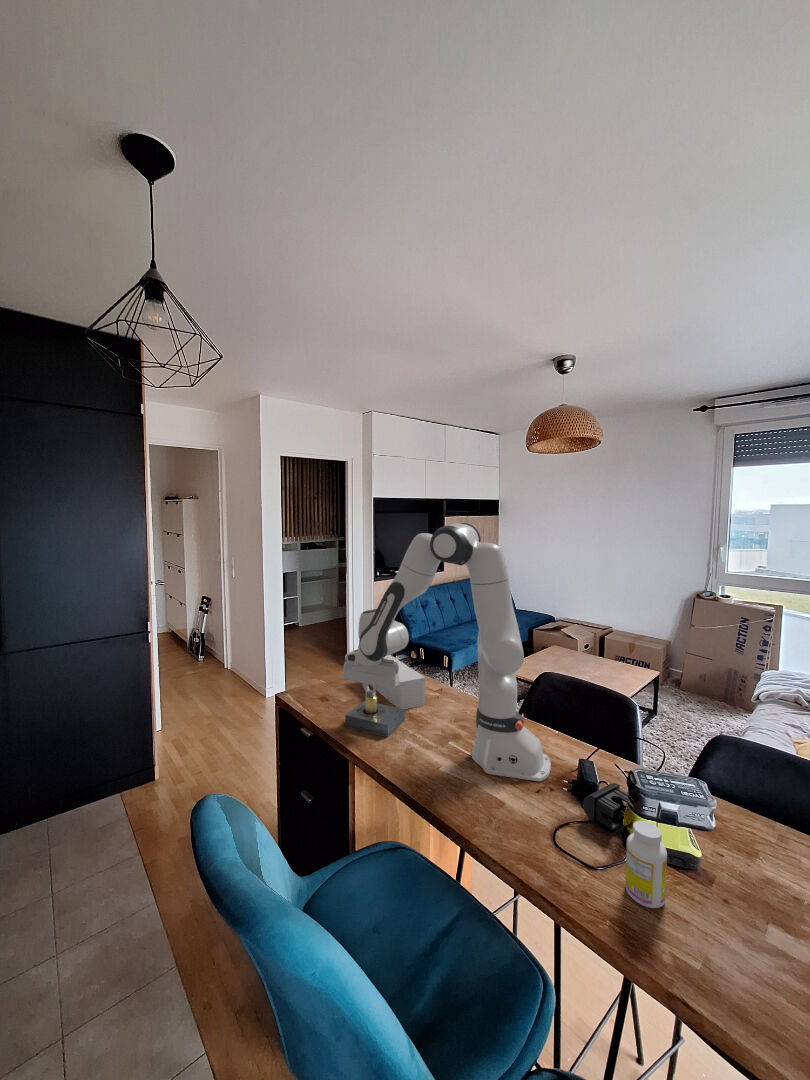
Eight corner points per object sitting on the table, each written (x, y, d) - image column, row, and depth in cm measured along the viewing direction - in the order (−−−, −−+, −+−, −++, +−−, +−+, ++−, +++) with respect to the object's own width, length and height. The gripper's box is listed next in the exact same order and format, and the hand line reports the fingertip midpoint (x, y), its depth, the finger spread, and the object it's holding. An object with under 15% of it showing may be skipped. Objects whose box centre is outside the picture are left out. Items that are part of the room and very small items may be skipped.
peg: (378, 718, 150) (379, 696, 150) (372, 723, 147) (373, 699, 147) (368, 716, 152) (369, 693, 152) (362, 720, 149) (363, 697, 149)
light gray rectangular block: (424, 705, 165) (425, 677, 164) (399, 710, 160) (400, 682, 159) (388, 677, 193) (388, 653, 193) (365, 681, 188) (366, 656, 188)
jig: (404, 720, 152) (404, 709, 151) (387, 737, 140) (388, 725, 140) (364, 711, 158) (364, 700, 158) (345, 726, 146) (345, 715, 146)
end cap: (606, 804, 109) (608, 778, 108) (634, 821, 103) (636, 793, 102) (581, 818, 103) (582, 790, 103) (609, 837, 97) (611, 808, 97)
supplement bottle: (651, 880, 86) (654, 816, 85) (673, 910, 79) (676, 841, 78) (618, 880, 85) (620, 817, 85) (637, 910, 79) (640, 842, 78)
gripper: (402, 658, 147) (401, 698, 148) (350, 649, 156) (350, 687, 156) (394, 663, 142) (393, 705, 142) (341, 654, 150) (340, 694, 151)
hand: (370, 696), depth 149 cm, fingers closed
